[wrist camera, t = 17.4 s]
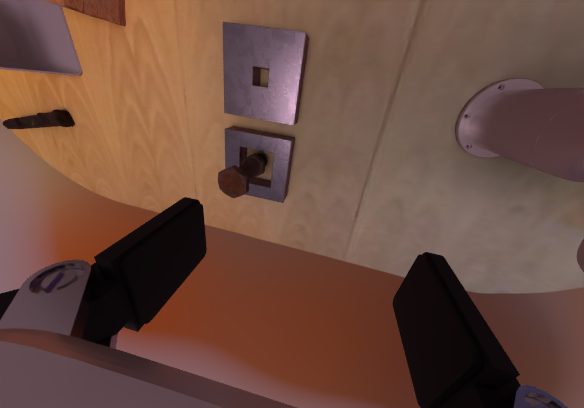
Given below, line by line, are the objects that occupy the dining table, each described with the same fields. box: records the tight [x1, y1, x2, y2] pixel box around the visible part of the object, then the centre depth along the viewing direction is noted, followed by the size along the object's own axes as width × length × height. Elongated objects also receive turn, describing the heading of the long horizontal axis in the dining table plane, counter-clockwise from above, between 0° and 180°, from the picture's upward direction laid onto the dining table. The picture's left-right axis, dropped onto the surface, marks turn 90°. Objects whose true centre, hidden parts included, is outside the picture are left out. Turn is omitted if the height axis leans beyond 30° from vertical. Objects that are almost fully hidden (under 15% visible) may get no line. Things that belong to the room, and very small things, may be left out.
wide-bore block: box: [225, 126, 295, 203], centre depth 47 cm, size 14×14×4 cm
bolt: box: [218, 154, 267, 198], centre depth 42 cm, size 6×5×15 cm
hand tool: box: [3, 110, 75, 129], centre depth 53 cm, size 19×4×5 cm, turn 93°
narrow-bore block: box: [223, 22, 309, 125], centre depth 39 cm, size 14×14×4 cm
